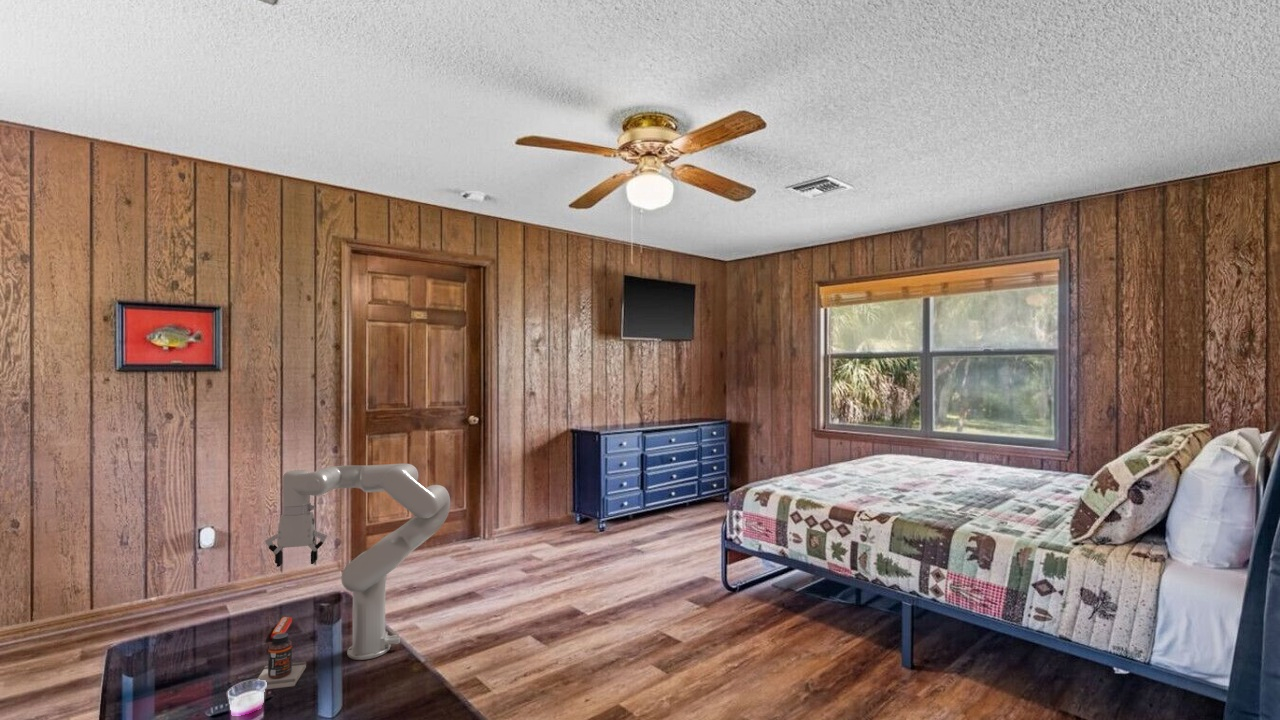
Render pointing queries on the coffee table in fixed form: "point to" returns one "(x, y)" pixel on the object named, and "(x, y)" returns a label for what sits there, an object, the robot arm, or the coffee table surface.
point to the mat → (284, 681)
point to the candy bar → (282, 626)
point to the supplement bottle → (280, 656)
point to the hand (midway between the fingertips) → (296, 564)
